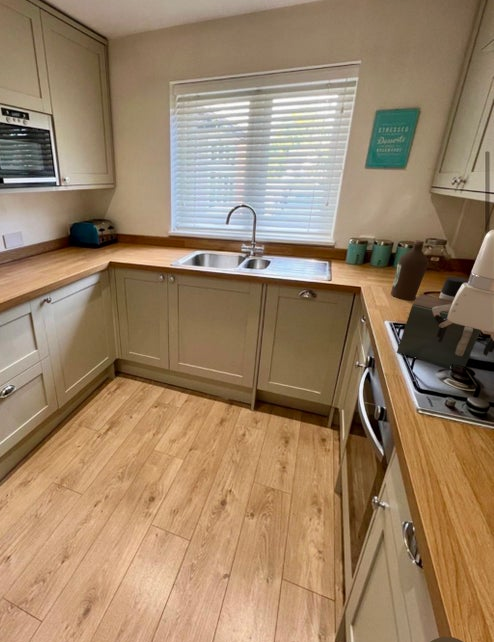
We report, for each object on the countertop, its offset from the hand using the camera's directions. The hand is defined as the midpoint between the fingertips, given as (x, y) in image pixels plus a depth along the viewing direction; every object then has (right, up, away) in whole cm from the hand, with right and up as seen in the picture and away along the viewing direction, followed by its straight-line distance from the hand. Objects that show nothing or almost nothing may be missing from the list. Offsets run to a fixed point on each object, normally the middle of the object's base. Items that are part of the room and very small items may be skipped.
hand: (462, 346), depth 85 cm
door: (-2, -7, +10) cm, 12 cm away
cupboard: (+5, -4, +17) cm, 18 cm away
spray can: (+17, 0, +29) cm, 34 cm away
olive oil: (+27, +14, +63) cm, 70 cm away
